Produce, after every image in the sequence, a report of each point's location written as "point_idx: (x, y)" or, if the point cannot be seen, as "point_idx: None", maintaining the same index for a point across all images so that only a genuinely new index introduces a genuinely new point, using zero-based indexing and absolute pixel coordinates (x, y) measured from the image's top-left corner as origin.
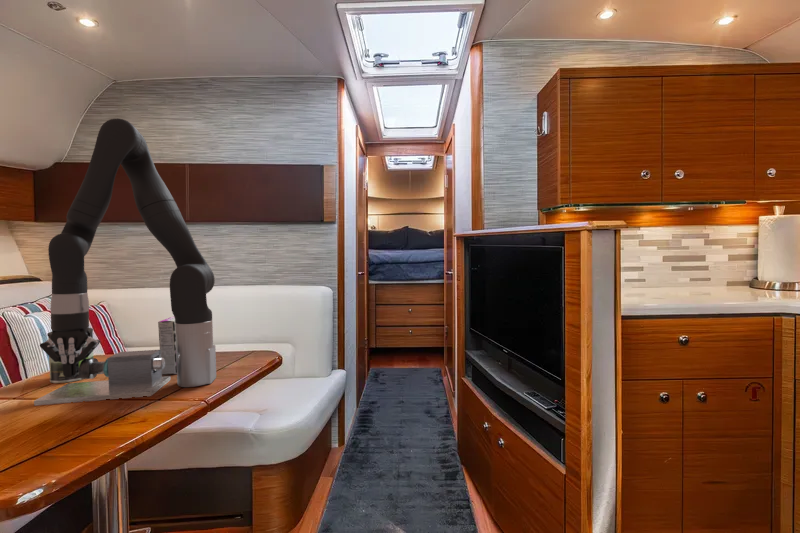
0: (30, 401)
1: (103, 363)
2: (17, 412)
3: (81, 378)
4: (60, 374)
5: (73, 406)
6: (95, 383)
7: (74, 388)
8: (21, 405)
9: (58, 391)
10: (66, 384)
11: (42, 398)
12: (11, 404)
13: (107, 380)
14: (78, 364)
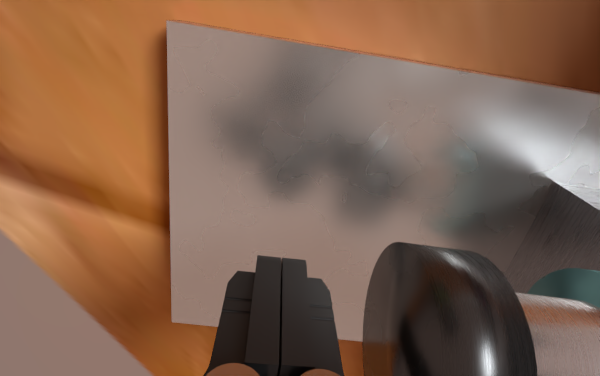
0: (111, 236)
1: None
2: (162, 350)
3: (363, 321)
4: None
5: (355, 357)
6: (388, 124)
7: (284, 193)
8: (110, 278)
9: (211, 218)
10: (169, 55)
11: (193, 304)
12: (41, 248)
13: (462, 72)
14: (339, 361)
